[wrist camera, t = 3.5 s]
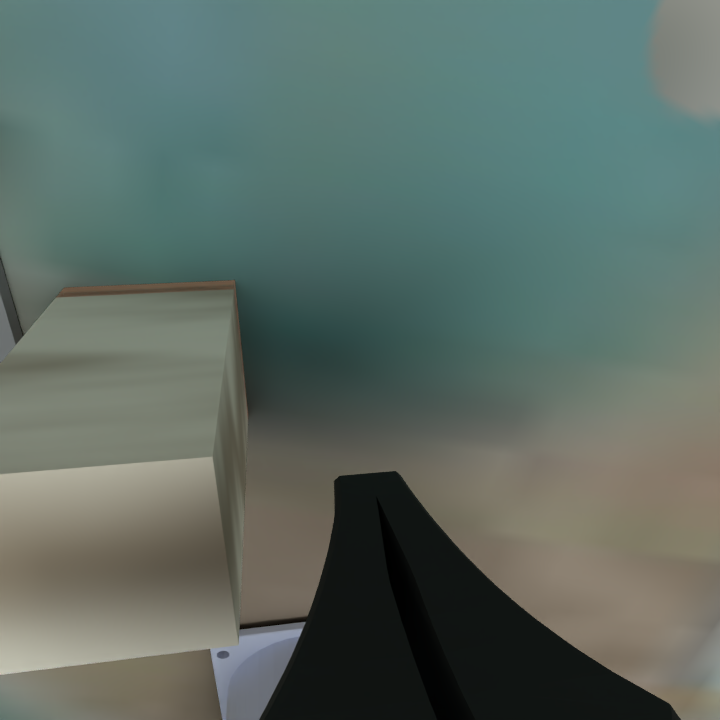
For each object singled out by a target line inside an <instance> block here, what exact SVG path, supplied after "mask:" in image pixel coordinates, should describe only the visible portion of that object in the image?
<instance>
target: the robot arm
mask: <svg viewBox="0 0 720 720" xmlns="http://www.w3.org/2000/svg"><path fill="white" fill-rule="evenodd" d="M334 495H335V516H334V524H333V529H332V534H331V539H330V544H329V549H328V553H327V557H326V561H325V564H324V568H323V572H322V575H321V579H320V582H319V586H318V589H317V592H316V595H315V598H314V601H313V603H312V606H311V609H310V612H309V614H308V617H307V620H306V622H299V623H291V624H282V625H274V626H266V627H257V628H249V629H241V630H239V645H237V646H229V647H221V648H213V649H210V652H211V657H212V663H213V669H214V675H215V680H216V686H217V692H218V698H219V703H220V709H221V715H222V720H681V719H680V718H679V716H678V715H677V714H676V712H675V711H674V709H673V708H672V707H671V705H670V704H669V703H667V702H665V701H664V700H662V699H660V698H658V697H656V696H655V695H653V694H651V693H649V692H648V691H646V690H644V689H642V688H640V687H639V686H637V685H635V684H633V683H632V682H630V681H628V680H626V679H624V678H623V677H621V676H619V675H617V674H616V673H614V672H612V671H611V670H609V669H607V668H606V667H604V666H603V665H601V664H600V663H598V662H596V661H595V660H593V659H592V658H590V657H589V656H587V655H586V654H584V653H582V652H581V651H579V650H578V649H576V648H575V647H573V646H572V645H571V644H569V643H568V642H566V641H565V640H564V639H562V638H561V637H560V636H558V635H557V634H555V633H554V632H553V631H551V630H550V629H549V628H547V627H546V626H544V625H543V624H542V623H540V622H539V621H538V620H536V619H535V618H534V617H532V616H531V615H530V614H529V613H528V612H526V611H525V610H524V609H523V608H521V607H520V606H519V605H518V604H517V603H515V602H514V601H513V600H512V599H511V598H510V597H508V596H507V595H506V594H505V593H504V592H503V591H502V590H500V589H499V588H498V587H497V586H496V585H495V584H494V583H493V582H492V581H491V580H490V579H488V578H487V577H486V576H485V575H484V574H483V573H482V572H481V571H480V570H479V569H478V568H477V567H476V566H475V565H474V564H473V563H472V562H471V561H470V560H469V559H468V558H467V557H466V556H465V555H464V553H463V552H462V551H461V550H460V549H459V548H458V547H457V546H456V545H455V544H454V543H453V542H452V540H451V539H450V538H449V537H448V536H447V535H446V533H445V532H444V531H443V530H442V529H441V528H440V527H439V525H438V524H437V523H436V522H435V521H434V519H433V518H432V517H431V516H430V515H429V513H428V512H427V511H426V510H425V508H424V507H423V506H422V504H421V503H420V502H419V501H418V499H417V498H416V497H415V495H414V494H413V493H412V491H411V490H410V488H409V487H408V486H407V484H406V483H405V481H404V480H403V478H402V477H401V475H400V474H398V473H397V472H396V471H392V472H380V473H368V474H357V475H345V476H339V477H338V478H337V479H336V480H335V481H334Z"/></svg>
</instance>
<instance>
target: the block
mask: <svg viewBox="0 0 720 720" xmlns="http://www.w3.org/2000/svg"><path fill="white" fill-rule="evenodd" d="M247 438H248V407H247V397H246V387H245V377H244V367H243V357H242V347H241V337H240V327H239V317H238V307H237V297H236V287H235V280H228V281H205V282H183V283H160V284H137V285H115V286H92V287H69V288H63V290H62V291H61V292H60V293H59V294H58V296H57V297H56V298H55V299H54V300H53V301H52V303H51V304H50V305H49V306H48V307H47V309H46V310H45V311H44V312H43V313H42V315H41V316H40V317H39V318H38V319H37V320H36V322H35V323H34V324H33V325H32V326H31V328H30V329H29V330H28V331H27V332H26V334H25V335H24V336H23V337H22V338H21V339H20V341H19V342H18V343H17V344H16V345H15V347H14V348H13V349H12V350H11V351H10V353H9V354H8V355H7V356H6V357H5V358H4V360H3V361H2V362H1V363H0V675H2V674H10V673H18V672H26V671H34V670H43V669H51V668H59V667H67V666H75V665H83V664H91V663H99V662H107V661H115V660H124V659H132V658H140V657H148V656H156V655H164V654H172V653H180V652H188V651H196V650H205V649H213V648H221V647H229V646H237V645H239V628H240V604H241V580H242V556H243V533H244V509H245V485H246V461H247Z"/></svg>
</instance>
